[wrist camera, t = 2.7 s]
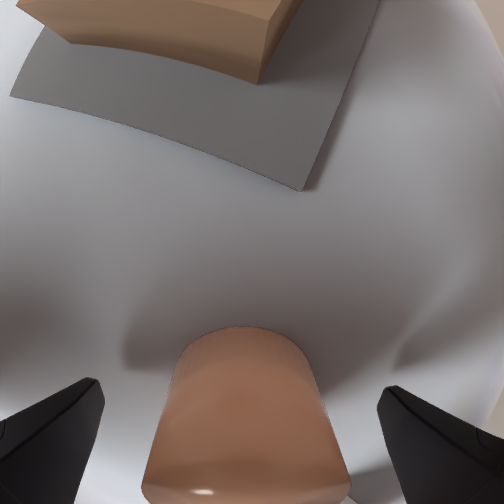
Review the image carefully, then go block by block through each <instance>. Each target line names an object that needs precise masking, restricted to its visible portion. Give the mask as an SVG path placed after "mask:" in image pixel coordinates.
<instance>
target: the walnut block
mask: <svg viewBox="0 0 504 504" xmlns="http://www.w3.org/2000/svg"><path fill="white" fill-rule="evenodd" d="M303 1H304V0H19V1H18V3H17V4H16V6H17V7H18V8H20V9H21V10H23V11H24V12H26V13H27V14H29V15H30V16H32V17H33V18H35V19H36V20H38V21H39V22H41V23H42V24H44V25H45V26H47V27H48V28H49V29H51V30H52V31H54V32H55V33H57V34H58V35H59V36H61V37H62V38H64V39H65V40H66V41H68V42H69V43H70V44H81V45H92V46H102V47H110V48H117V49H124V50H130V51H136V52H142V53H147V54H152V55H157V56H161V57H166V58H170V59H174V60H178V61H182V62H186V63H190V64H193V65H197V66H200V67H204V68H207V69H211V70H214V71H217V72H220V73H223V74H226V75H229V76H232V77H235V78H238V79H241V80H244V81H246V82H249V83H252V84H254V85H257V84H258V82H259V80H260V78H261V76H262V74H263V72H264V70H265V69H266V67H267V65H268V63H269V61H270V59H271V57H272V55H273V53H274V51H275V50H276V48H277V46H278V44H279V42H280V40H281V39H282V37H283V35H284V33H285V31H286V30H287V28H288V26H289V24H290V23H291V21H292V19H293V17H294V16H295V14H296V12H297V11H298V9H299V7H300V6H301V4H302V2H303Z"/></svg>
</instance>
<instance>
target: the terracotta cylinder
mask: <svg viewBox="0 0 504 504" xmlns="http://www.w3.org/2000/svg"><path fill="white" fill-rule="evenodd" d="M141 489H142V493H143V495H144V497H145V498H146V499H147V501H148V502H149V503H150V504H339V503H341V502H342V501H343V500H344V499H345V497H346V496H347V495H348V493H349V491H350V489H351V480H350V477H349V474H348V471H347V468H346V465H345V463H344V460H343V457H342V454H341V451H340V448H339V445H338V443H337V440H336V437H335V434H334V431H333V428H332V426H331V423H330V420H329V417H328V414H327V412H326V409H325V406H324V403H323V401H322V398H321V395H320V392H319V389H318V387H317V384H316V381H315V379H314V376H313V373H312V370H311V368H310V365H309V362H308V360H307V358H306V356H305V354H304V353H303V352H302V350H301V349H300V348H299V347H298V346H297V345H296V344H295V343H293V342H292V341H291V340H289V339H288V338H286V337H284V336H282V335H281V334H278V333H276V332H273V331H270V330H266V329H263V328H256V327H243V326H242V327H230V328H224V329H220V330H216V331H213V332H210V333H208V334H205V335H203V336H202V337H200V338H198V339H196V340H195V341H194V342H192V343H191V344H190V345H189V346H188V347H187V348H186V349H185V350H184V351H183V353H182V354H181V356H180V358H179V360H178V362H177V365H176V368H175V371H174V374H173V377H172V380H171V383H170V387H169V390H168V393H167V396H166V400H165V403H164V406H163V410H162V413H161V416H160V420H159V423H158V426H157V430H156V433H155V437H154V440H153V444H152V447H151V451H150V455H149V458H148V462H147V466H146V469H145V473H144V477H143V481H142V485H141Z"/></svg>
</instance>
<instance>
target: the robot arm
mask: <svg viewBox="0 0 504 504" xmlns="http://www.w3.org/2000/svg"><path fill="white" fill-rule="evenodd" d="M104 405H105V399H104V395H103V392H102V389H101V386H100V383H99V381H98V380H97V379H93V378H89V377H86V378H84V379H82V380H80V381H78V382H76V383H74V384H72V385H70V386H69V387H67V388H65V389H63V390H61V391H59V392H57V393H55V394H53V395H52V396H50V397H48V398H46V399H44V400H42V401H40V402H38V403H36V404H34V405H32V406H30V407H28V408H26V409H24V410H22V411H20V412H18V413H16V414H14V415H12V416H10V417H8V418H7V419H4V420H2V421H0V504H74V501H75V497H76V494H77V491H78V488H79V485H80V482H81V479H82V476H83V473H84V470H85V467H86V465H87V462H88V459H89V456H90V454H91V451H92V448H93V445H94V442H95V439H96V435H97V431H98V427H99V423H100V420H101V416H102V412H103V408H104ZM377 413H378V416H379V420H380V424H381V428H382V431H383V435H384V439H385V443H386V447H387V449H388V452H389V455H390V458H391V460H392V463H393V466H394V468H395V471H396V474H397V477H398V479H399V482H400V485H401V488H402V491H403V494H404V497H405V500H406V503H407V504H504V439H502V438H499V437H496V436H493V435H492V434H489V433H487V432H485V431H483V430H481V429H479V428H477V427H476V428H475V426H473V425H471V424H469V423H467V422H465V421H463V420H461V419H459V418H457V417H455V416H453V415H451V414H449V413H447V412H445V411H443V410H441V409H439V408H438V407H436V406H434V405H432V404H430V403H428V402H426V401H424V400H423V399H421V398H419V397H417V396H415V395H413V394H412V393H410V392H408V391H406V390H404V389H402V388H401V387H399V386H396V385H394V386H389V387H386V388H385V389H384V390H383V393H382V395H381V397H380V400H379V402H378V405H377Z"/></svg>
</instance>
